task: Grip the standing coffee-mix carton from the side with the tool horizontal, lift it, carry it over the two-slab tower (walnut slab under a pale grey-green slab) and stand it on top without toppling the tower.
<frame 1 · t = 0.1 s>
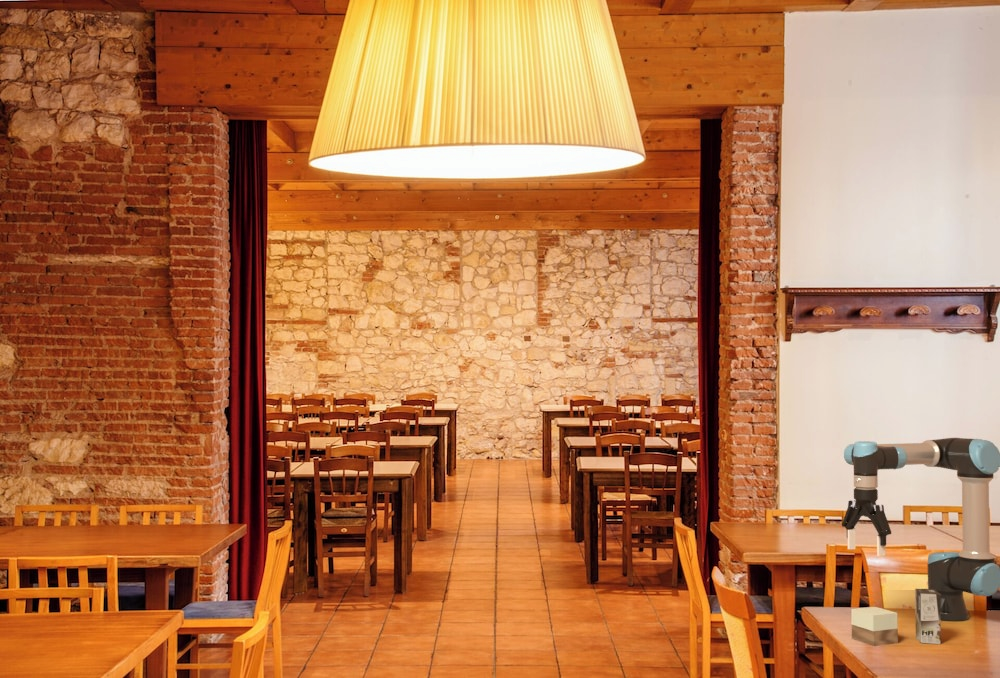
hand: (866, 552, 345), 28 cm above the table, tool pointing down, fingers open, 13 cm apart
coffee box: (928, 641, 341), on the table
tower base: (874, 641, 339), on the table, touching tower top
tower top: (874, 626, 340), point 5 cm above the table, touching tower base
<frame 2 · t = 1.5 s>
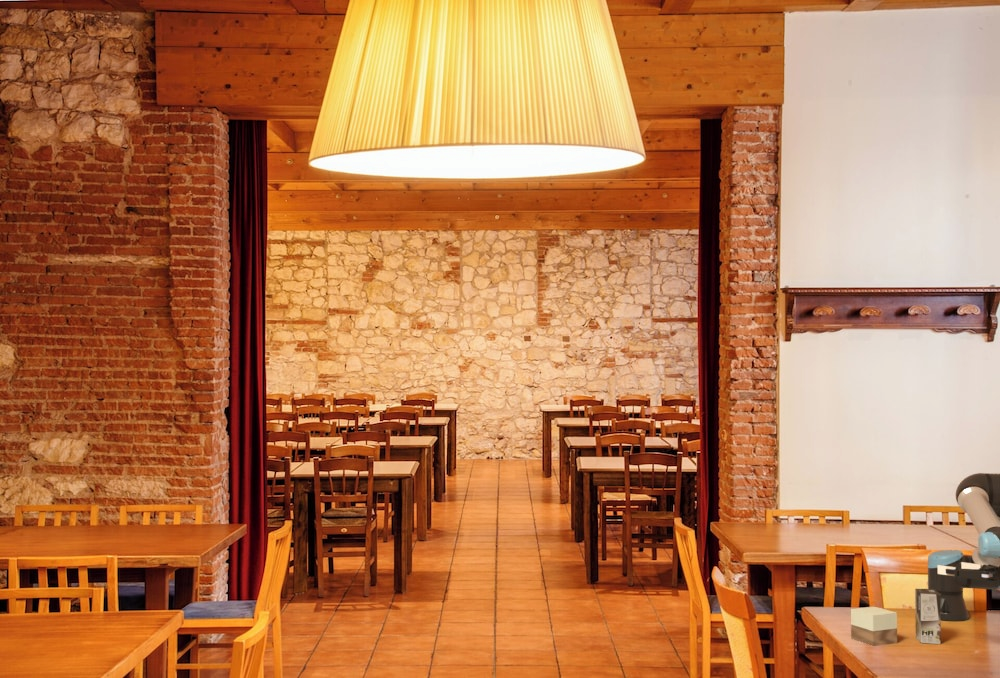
hand: (950, 567, 335), 25 cm above the table, tool horizontal, fingers open, 13 cm apart
nothing on the table moved.
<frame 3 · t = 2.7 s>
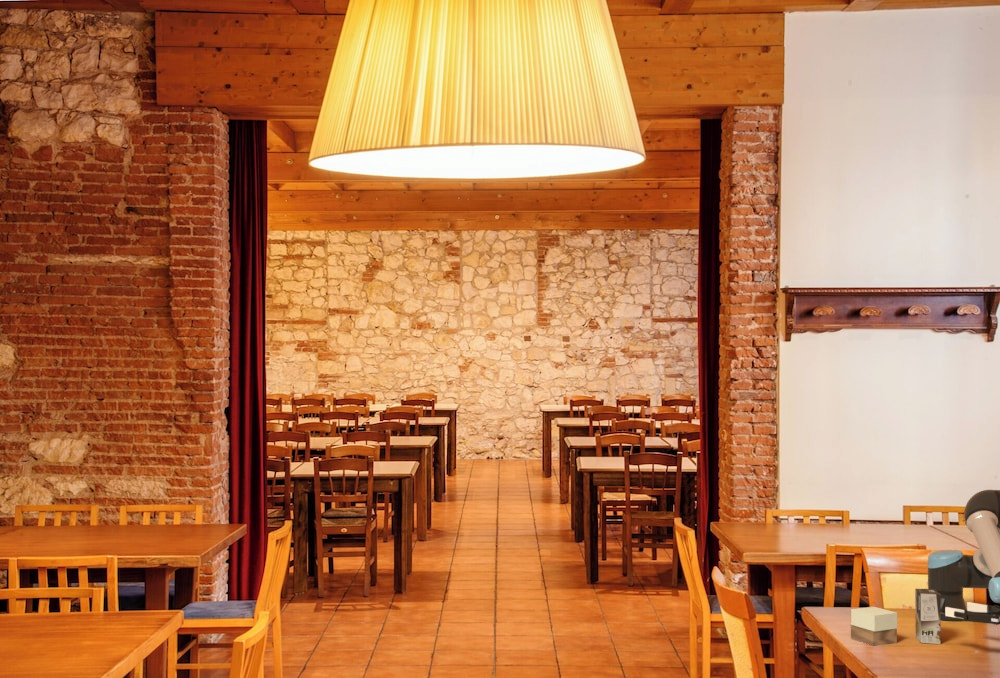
hand: (956, 608, 333), 12 cm above the table, tool horizontal, fingers open, 13 cm apart
nothing on the table moved.
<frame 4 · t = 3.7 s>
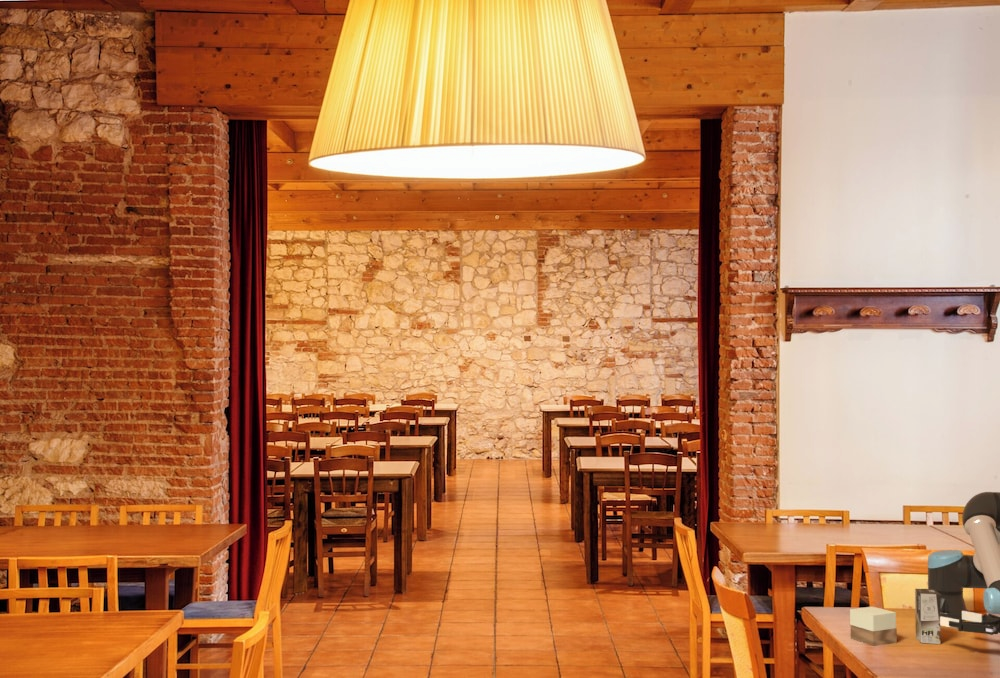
hand: (951, 617, 334), 9 cm above the table, tool horizontal, fingers open, 13 cm apart
nothing on the table moved.
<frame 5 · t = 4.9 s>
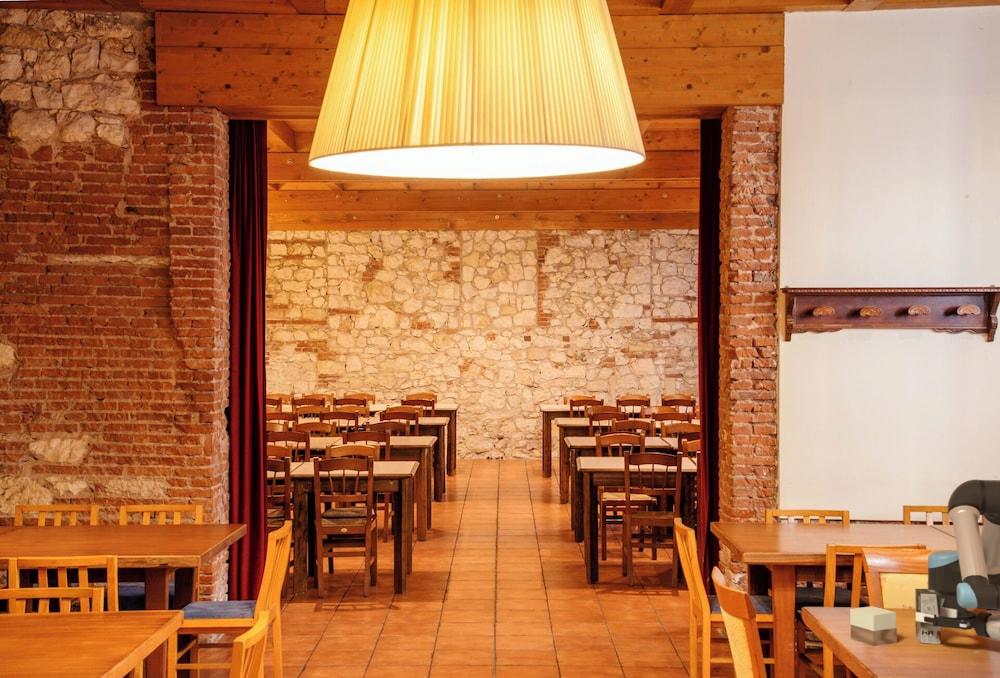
hand: (927, 613, 341), 9 cm above the table, tool horizontal, fingers open, 13 cm apart
nothing on the table moved.
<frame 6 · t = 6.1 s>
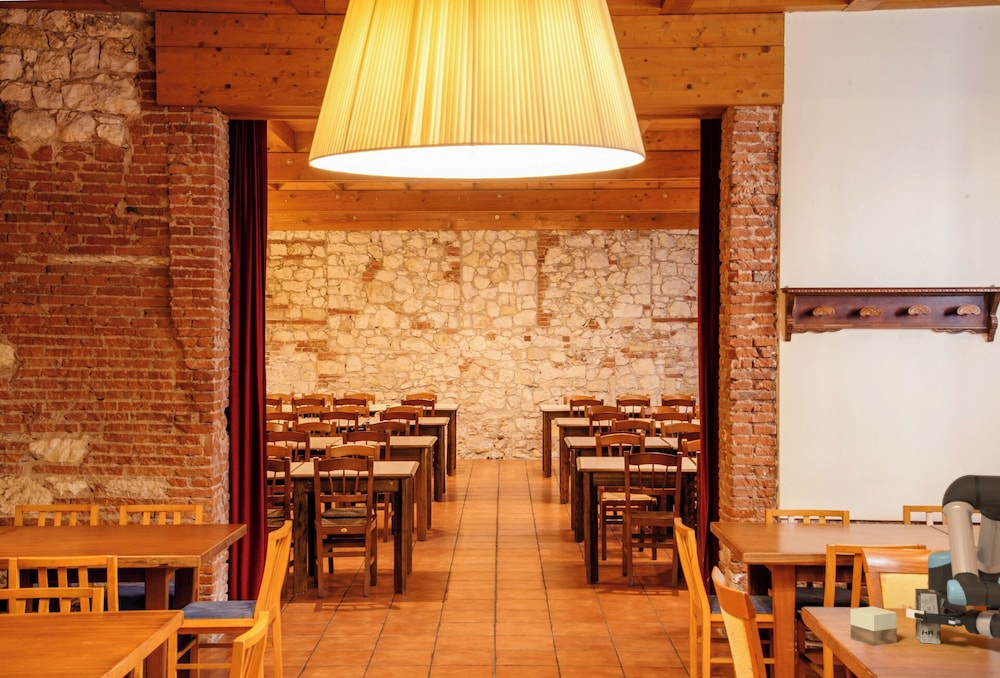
hand: (916, 610, 344), 9 cm above the table, tool horizontal, fingers closed on coffee box, 10 cm apart
coffee box: (928, 641, 341), on the table, touching gripper
everything else where it was.
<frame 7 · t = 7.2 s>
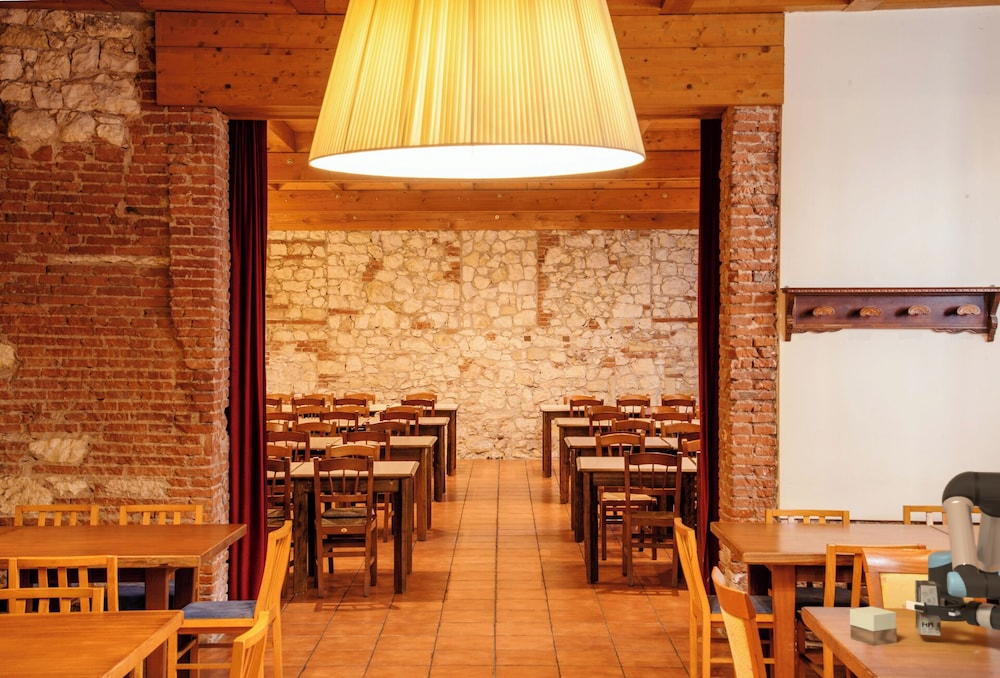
hand: (916, 602, 344), 12 cm above the table, tool horizontal, fingers closed on coffee box, 10 cm apart
coffee box: (928, 632, 341), point 3 cm above the table, touching gripper
everything else where it was.
when the fingers open (20 cm above the table, at t = 11.6 s): coffee box drops 1 cm, resting on tower top.
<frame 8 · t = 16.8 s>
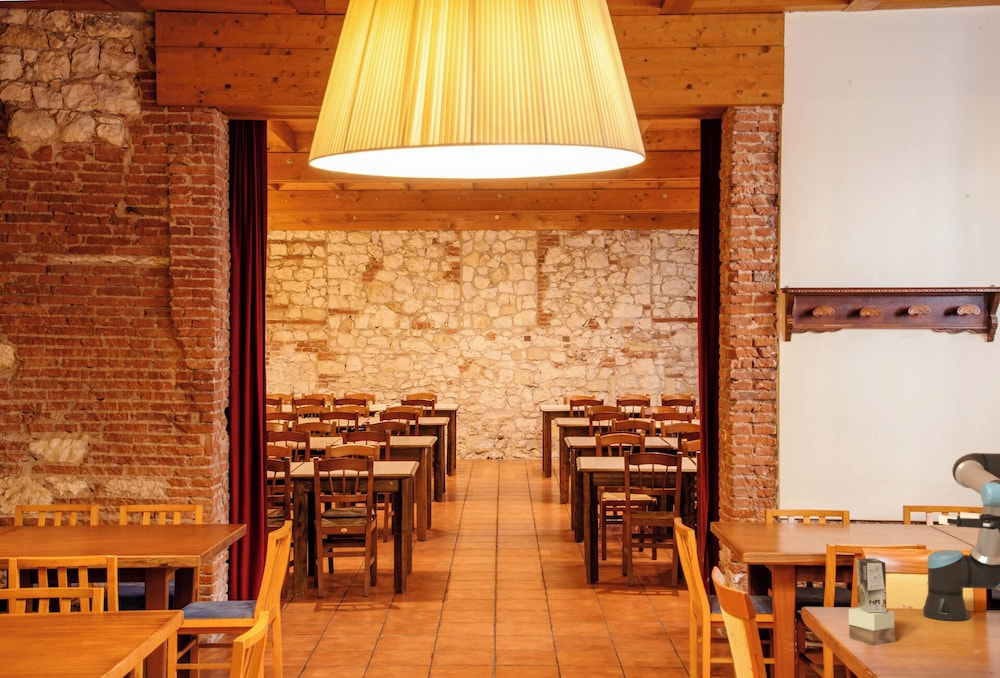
hand: (950, 517, 342), 40 cm above the table, tool horizontal, fingers open, 13 cm apart
coffee box: (872, 610, 341), point 10 cm above the table, touching tower top
tower top: (871, 625, 341), point 5 cm above the table, touching coffee box, tower base
at the end: coffee box inside the target area on the tower base (0.4 cm from its centre), point 9.9 cm above the tower base's base; coffee box tilted 1°; tower top moved 1.2 cm from its start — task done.
